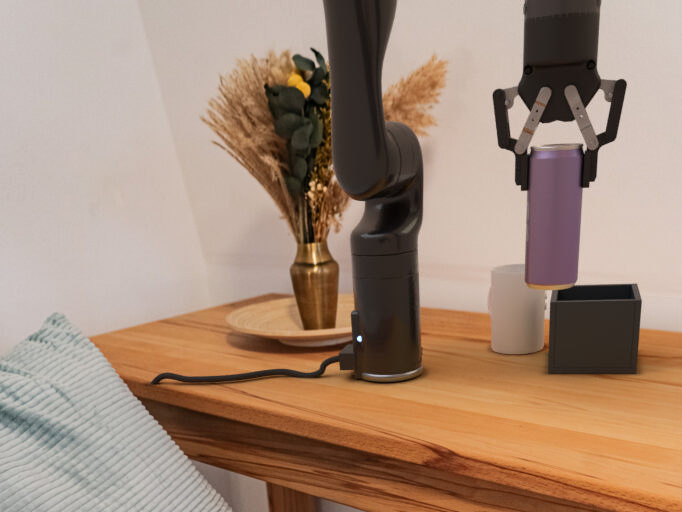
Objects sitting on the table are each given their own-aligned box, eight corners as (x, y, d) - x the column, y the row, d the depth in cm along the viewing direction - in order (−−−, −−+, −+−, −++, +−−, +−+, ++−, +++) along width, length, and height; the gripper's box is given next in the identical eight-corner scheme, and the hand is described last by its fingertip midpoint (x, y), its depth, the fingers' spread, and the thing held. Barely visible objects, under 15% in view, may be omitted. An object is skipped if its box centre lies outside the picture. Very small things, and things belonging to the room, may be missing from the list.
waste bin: (547, 373, 116) (550, 302, 112) (550, 351, 126) (553, 285, 122) (636, 373, 113) (641, 300, 109) (632, 351, 123) (637, 283, 119)
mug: (513, 334, 138) (514, 258, 133) (555, 348, 128) (558, 267, 122) (469, 341, 135) (468, 265, 130) (508, 357, 125) (509, 275, 120)
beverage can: (577, 290, 94) (586, 144, 87) (523, 291, 95) (527, 148, 89) (576, 280, 99) (584, 142, 93) (524, 281, 100) (529, 145, 94)
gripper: (634, 9, 87) (622, 182, 94) (494, 23, 91) (492, 188, 98) (637, 2, 80) (624, 189, 88) (486, 17, 84) (485, 195, 91)
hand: (554, 188), depth 93 cm, fingers closed on beverage can, 6 cm apart
